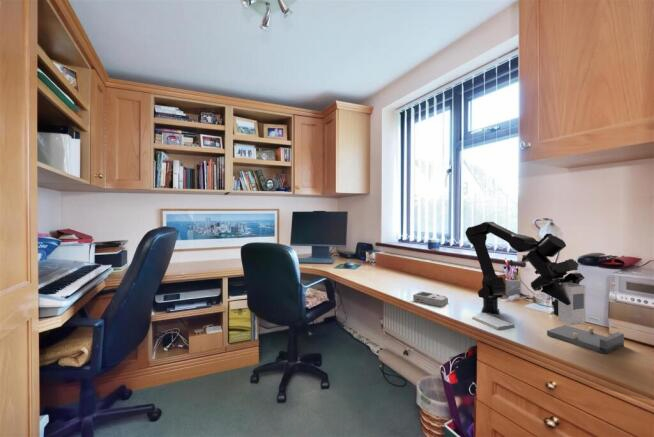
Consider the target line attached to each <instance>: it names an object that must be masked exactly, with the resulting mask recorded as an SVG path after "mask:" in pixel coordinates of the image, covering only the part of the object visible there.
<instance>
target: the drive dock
mask: <svg viewBox="0 0 654 437" xmlns="http://www.w3.org/2000/svg"><path fill="white" fill-rule="evenodd" d="M546 335H547V336H550V337H551V338H556V339H559V340H562V341H565V342H567V343H569V344H574V345H577V346H580V347H582V348H586V349H590V350H592V351H596V352H598V353H602V354H605V355H608V354H610V353H612V352H614V351H616V350H618V349H619V350H620V349H621V348H622V347H625V334H624V333H623V332H618V331H617V332H615V333H612V334H609V335H607V336H605V335H603V334H602V335H601V334H598V333H595V331H594V327H590V326H589V327H588V330H585V329H581V328H578V327H574V326H572V325H568V324H563V325H560V326H558V327H554V328H552V329H551V328H550V329H548V330H547V331H546Z"/></svg>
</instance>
